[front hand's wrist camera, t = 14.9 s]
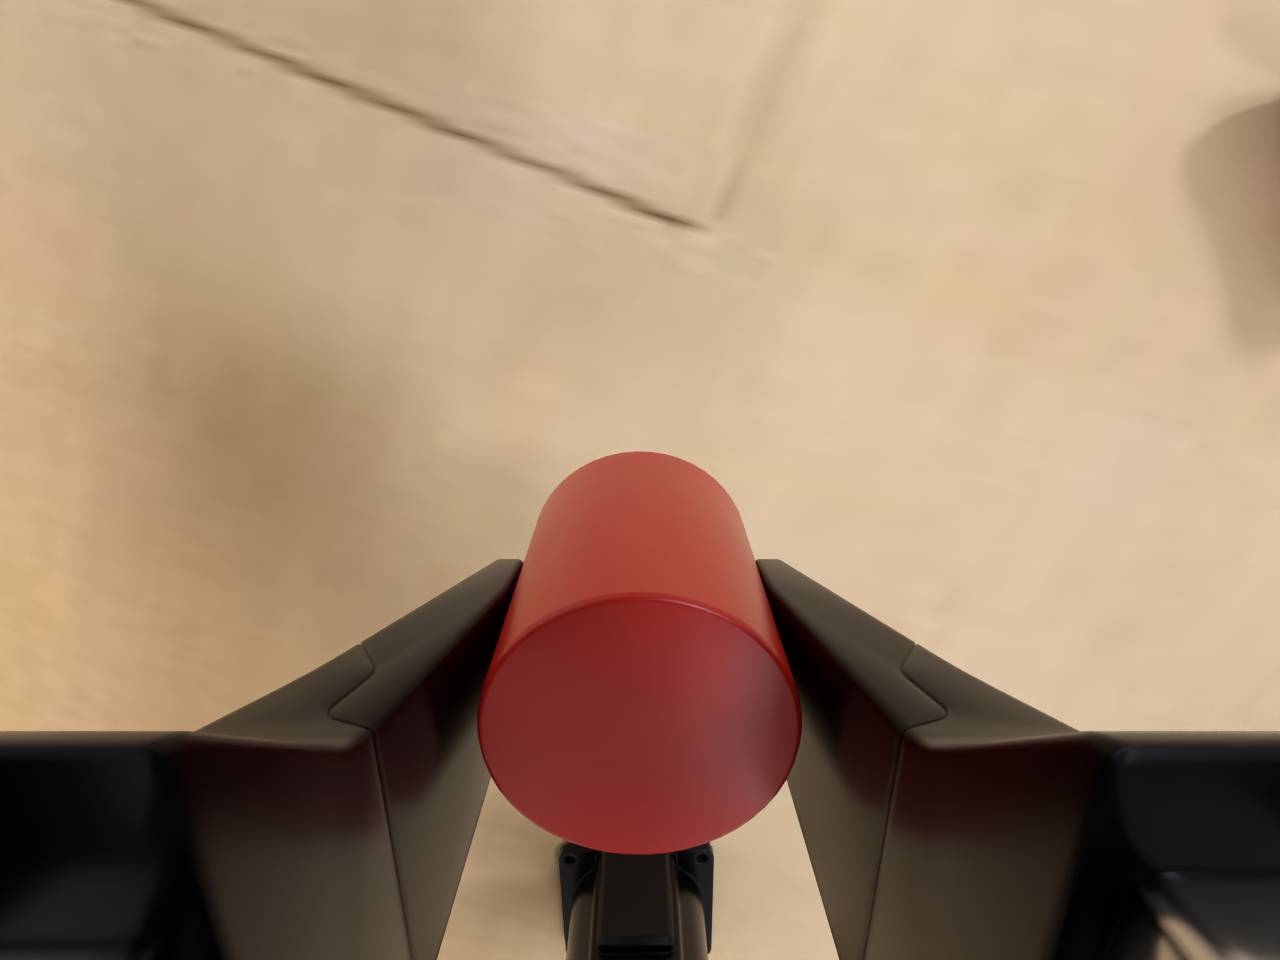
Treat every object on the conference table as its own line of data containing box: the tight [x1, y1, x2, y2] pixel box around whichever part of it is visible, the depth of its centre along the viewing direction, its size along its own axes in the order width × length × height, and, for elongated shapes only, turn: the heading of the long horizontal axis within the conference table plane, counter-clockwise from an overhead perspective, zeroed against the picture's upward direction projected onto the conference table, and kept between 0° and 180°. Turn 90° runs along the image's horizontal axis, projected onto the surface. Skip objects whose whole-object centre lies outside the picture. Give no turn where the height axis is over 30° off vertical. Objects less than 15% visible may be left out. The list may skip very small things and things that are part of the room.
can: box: [477, 452, 802, 855], centre depth 10 cm, size 4×4×5 cm
